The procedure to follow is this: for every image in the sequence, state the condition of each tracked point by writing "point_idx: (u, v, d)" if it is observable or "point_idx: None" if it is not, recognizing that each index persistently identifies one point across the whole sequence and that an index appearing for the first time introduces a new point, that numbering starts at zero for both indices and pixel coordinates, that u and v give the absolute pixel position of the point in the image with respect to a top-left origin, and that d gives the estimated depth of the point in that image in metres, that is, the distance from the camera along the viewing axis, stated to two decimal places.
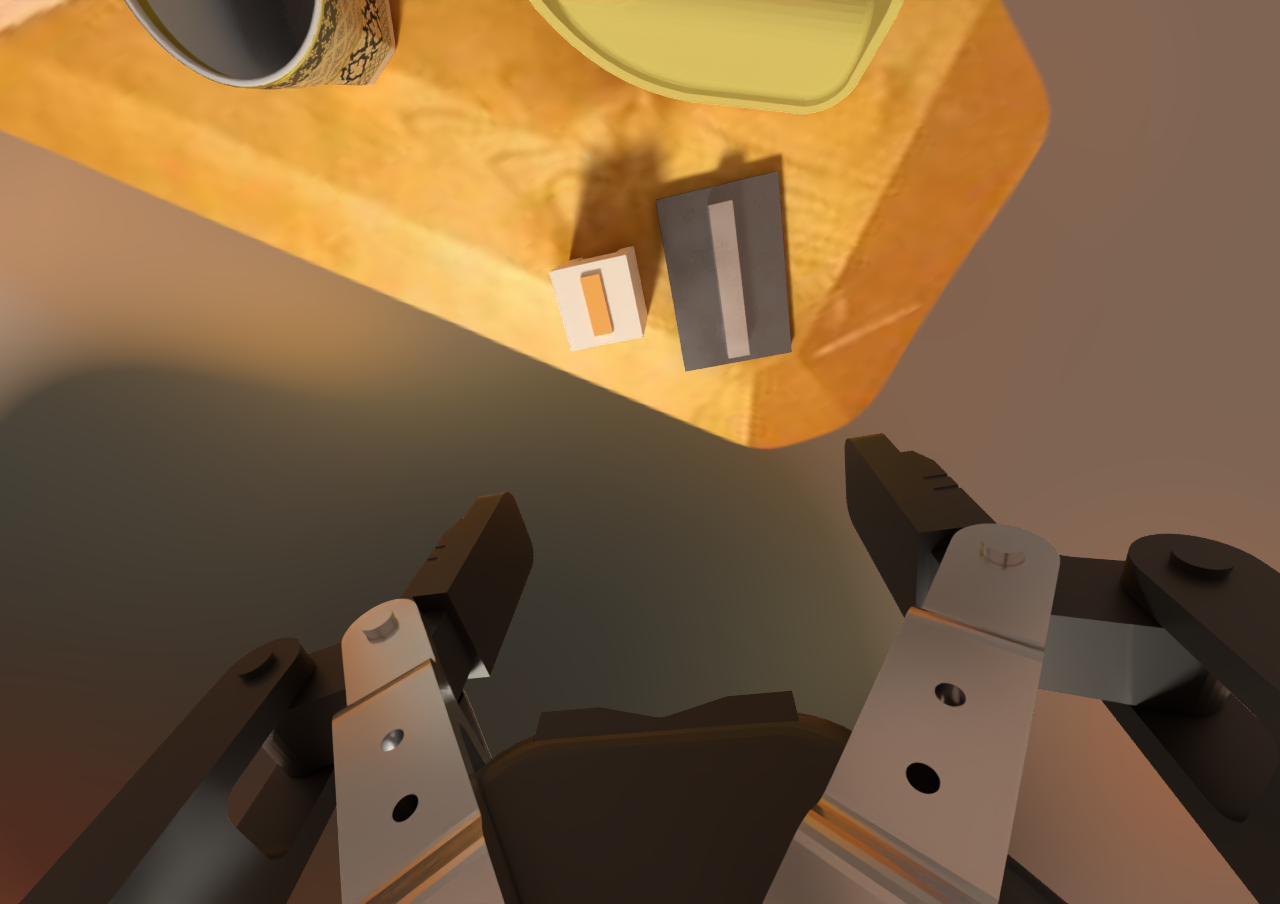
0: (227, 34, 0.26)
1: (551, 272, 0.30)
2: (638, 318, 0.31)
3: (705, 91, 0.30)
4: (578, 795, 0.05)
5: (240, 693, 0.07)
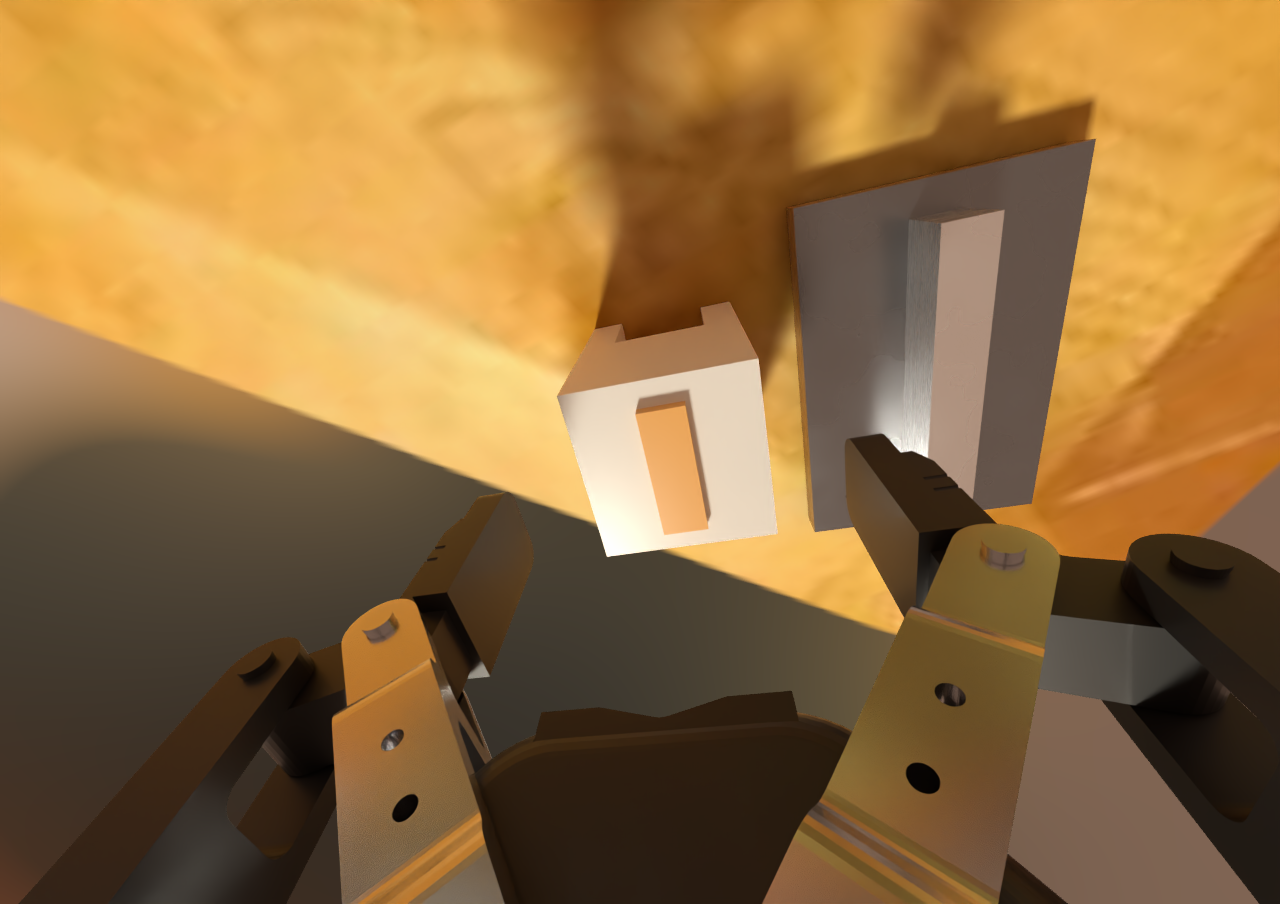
0: None
1: (562, 397, 0.12)
2: (771, 496, 0.13)
3: None
4: (577, 795, 0.05)
5: (240, 693, 0.07)
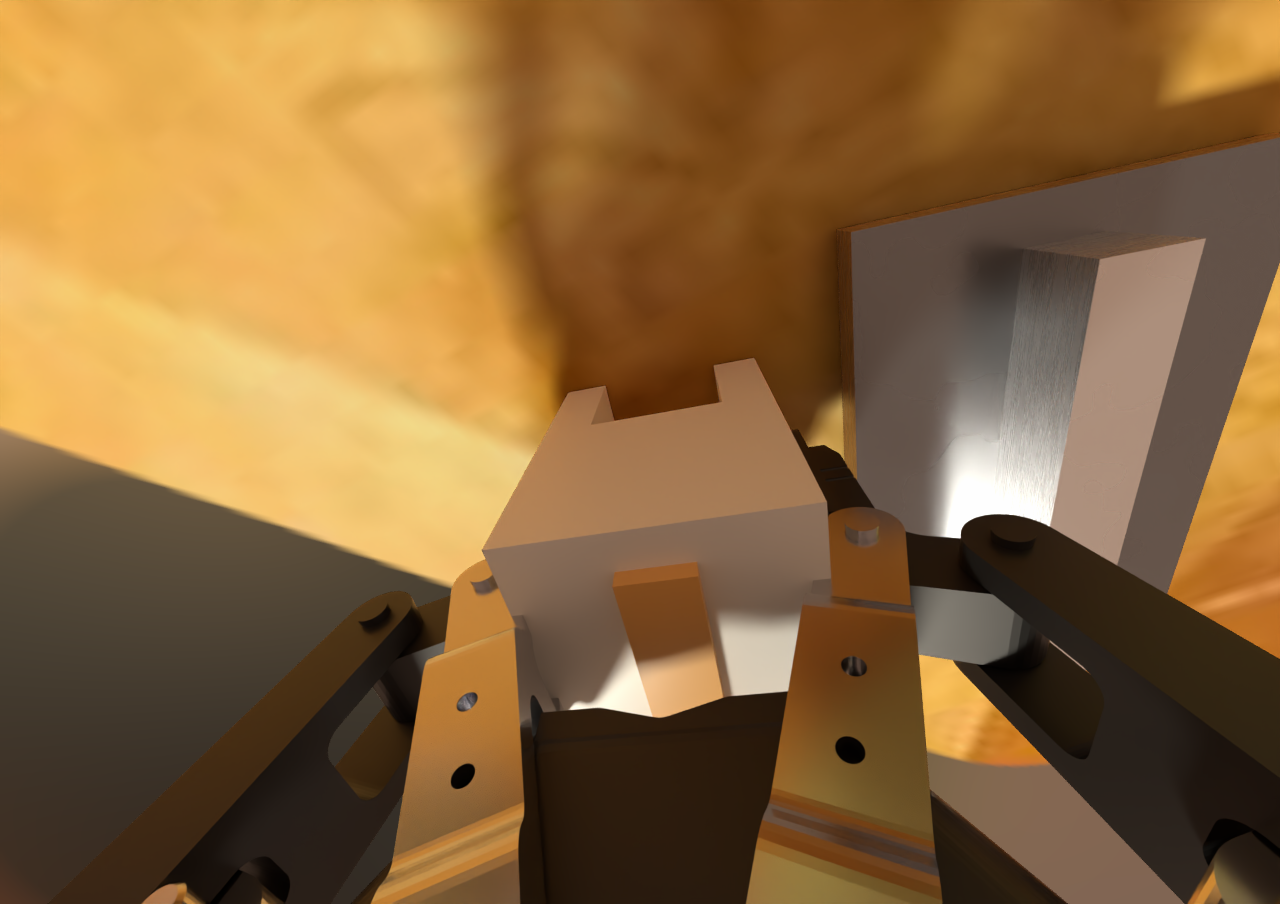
0: None
1: (491, 552, 0.07)
2: None
3: None
4: (577, 795, 0.05)
5: (356, 639, 0.08)
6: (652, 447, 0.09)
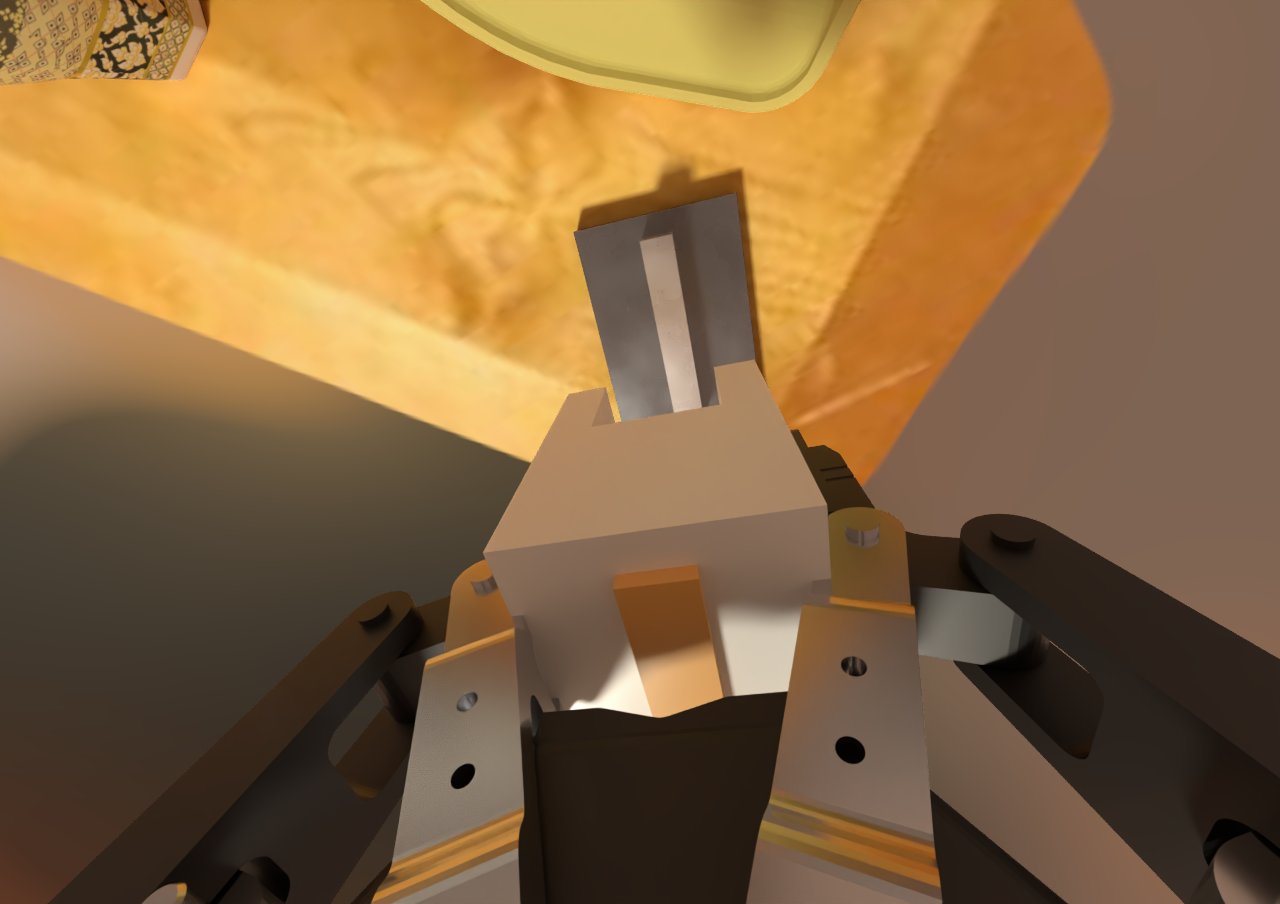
0: None
1: (492, 555, 0.07)
2: None
3: (614, 72, 0.21)
4: (577, 795, 0.05)
5: (356, 639, 0.08)
6: (653, 449, 0.09)
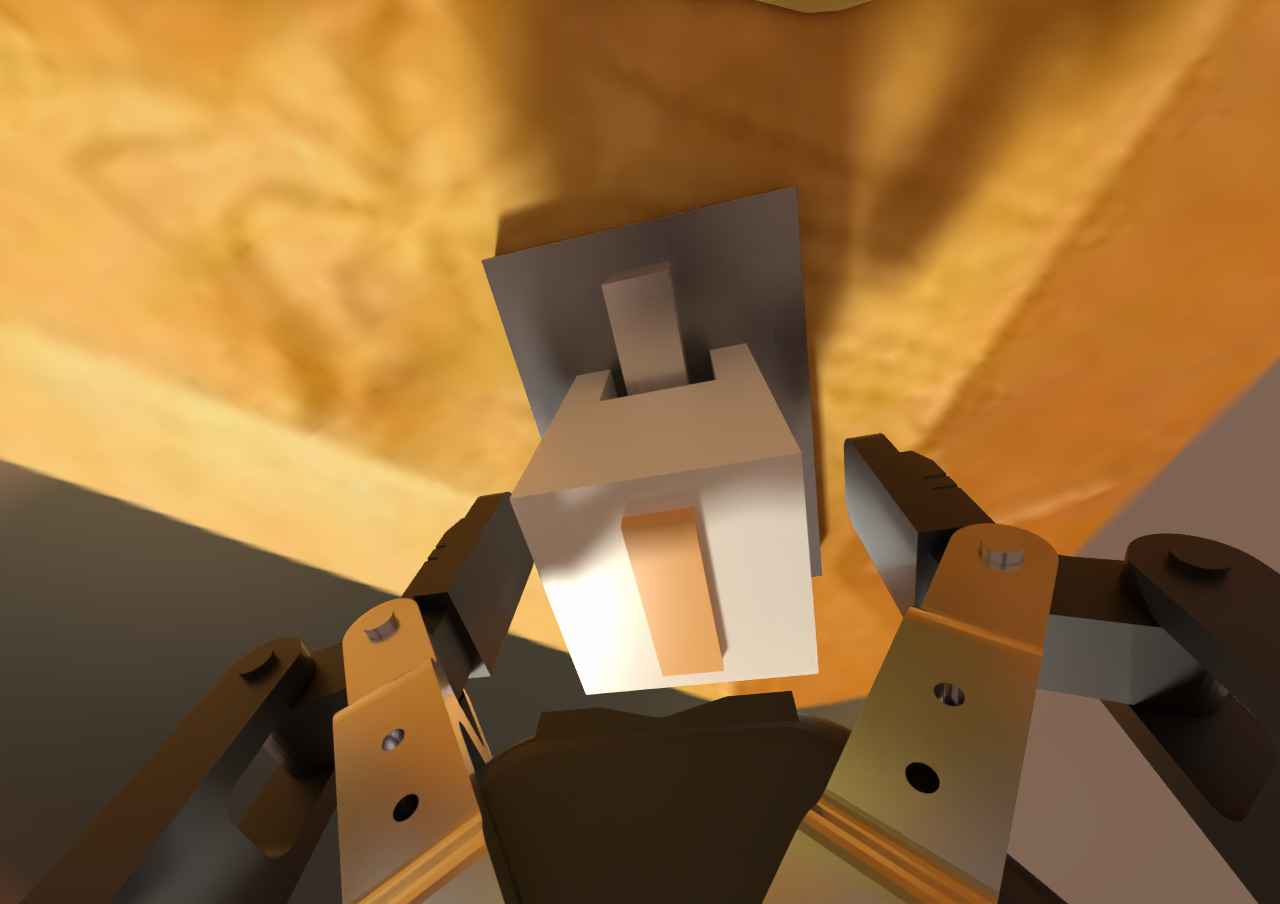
0: None
1: (517, 501, 0.08)
2: (811, 627, 0.09)
3: None
4: (577, 795, 0.05)
5: (241, 692, 0.07)
6: (654, 417, 0.10)
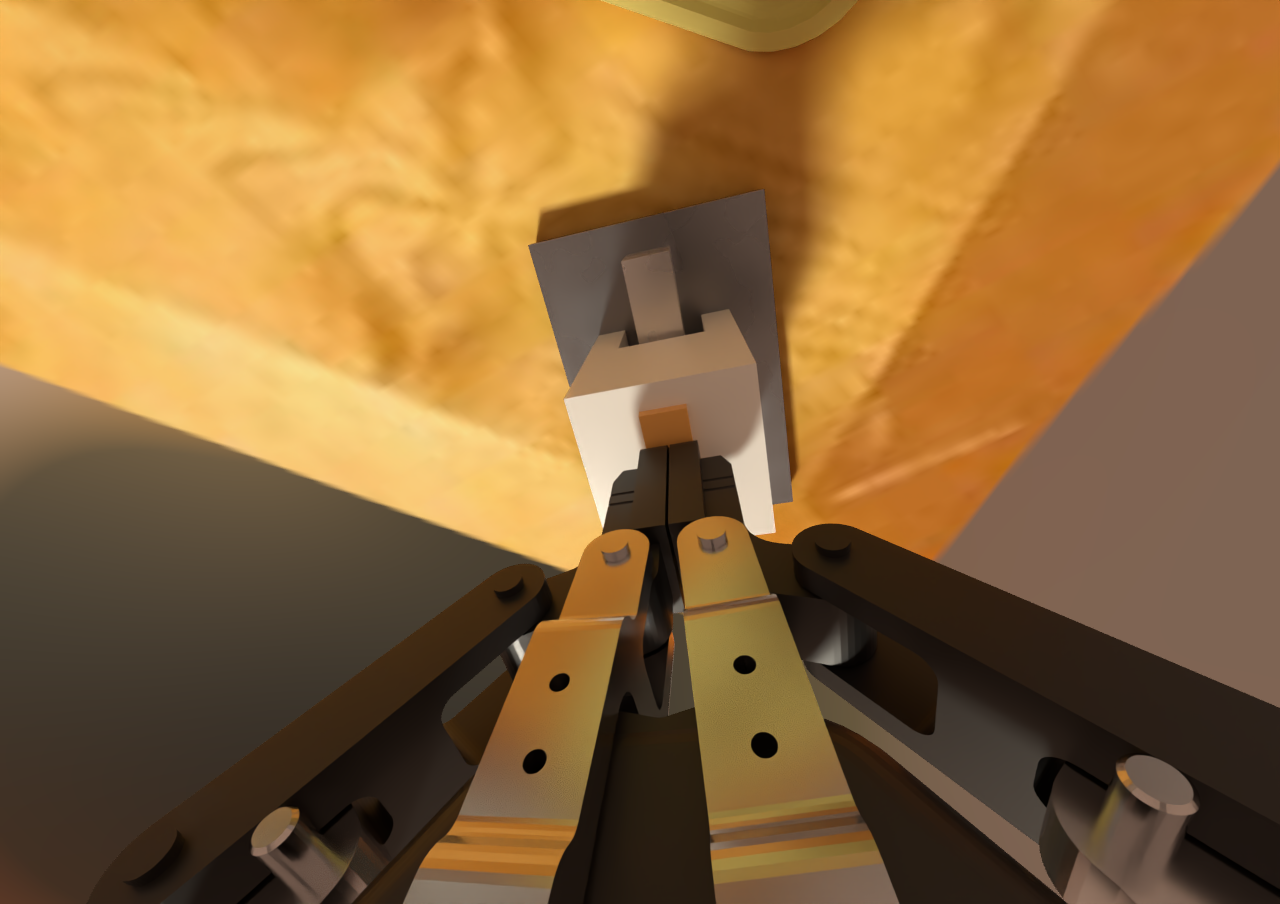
0: None
1: (569, 400, 0.12)
2: (769, 495, 0.13)
3: None
4: None
5: (487, 607, 0.08)
6: (659, 353, 0.14)
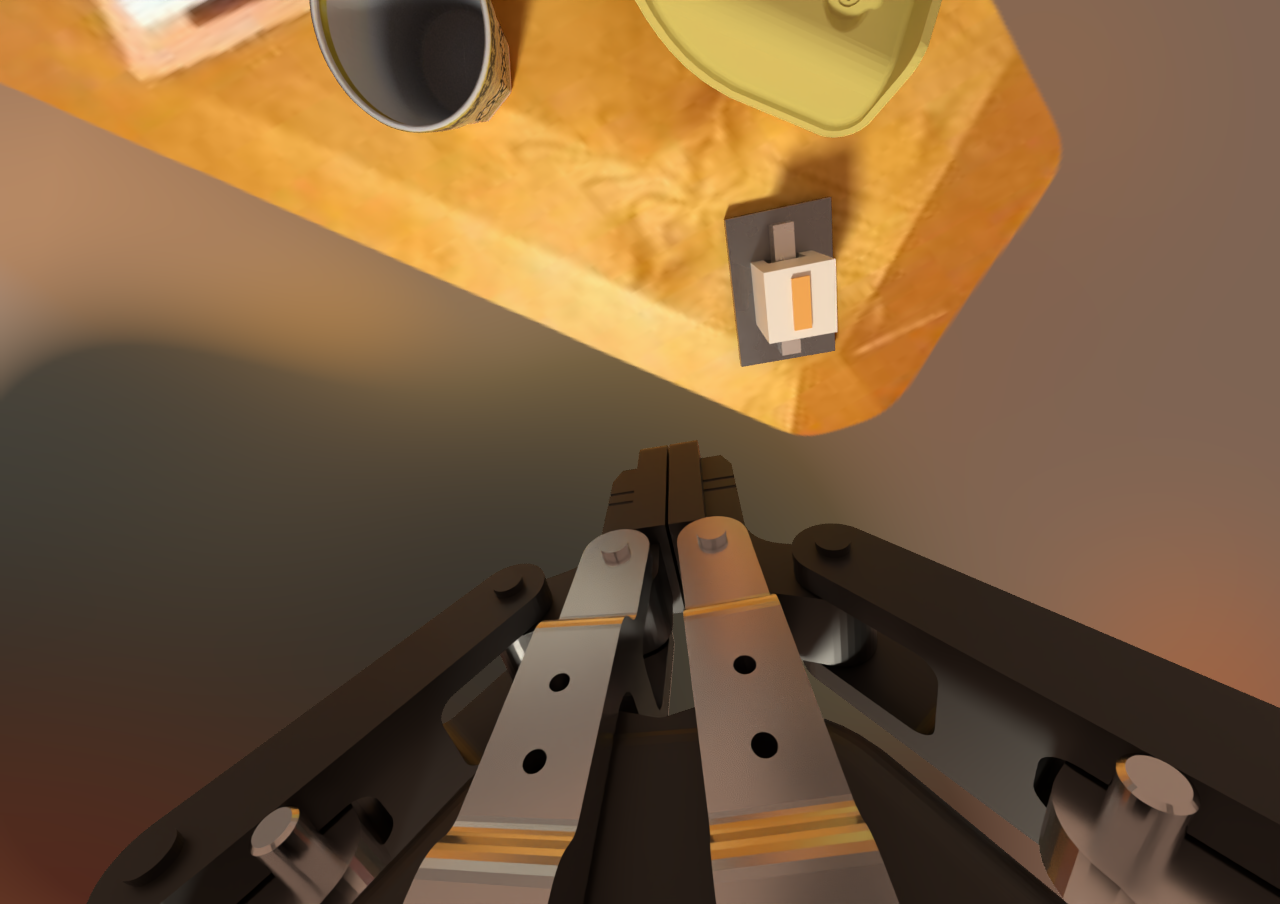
0: (387, 85, 0.32)
1: (765, 273, 0.34)
2: (835, 315, 0.35)
3: (747, 94, 0.35)
4: None
5: (487, 607, 0.08)
6: (791, 262, 0.36)
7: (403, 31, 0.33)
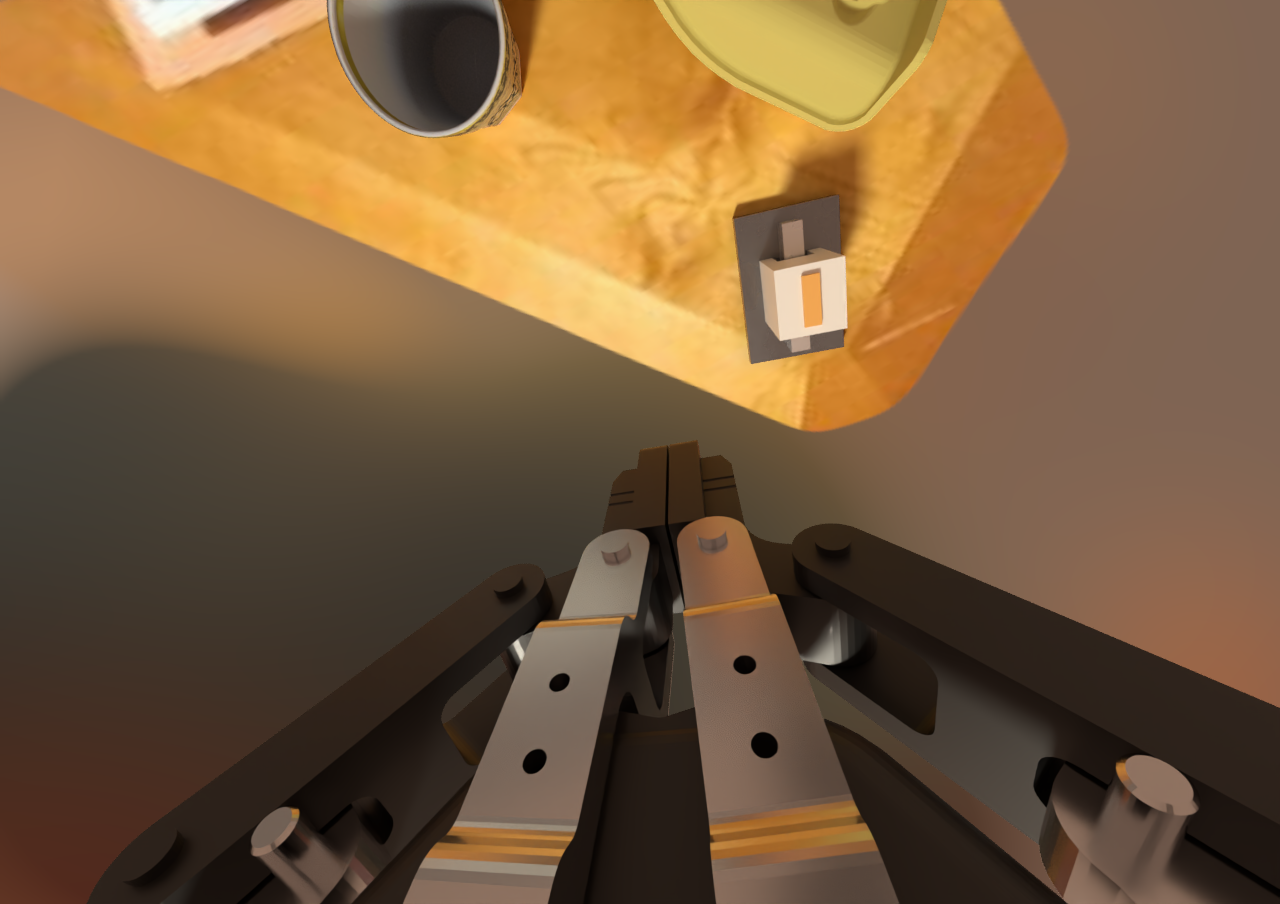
0: (401, 91, 0.32)
1: (775, 271, 0.34)
2: (845, 311, 0.35)
3: (753, 83, 0.35)
4: None
5: (487, 607, 0.08)
6: (801, 259, 0.36)
7: (416, 38, 0.33)
